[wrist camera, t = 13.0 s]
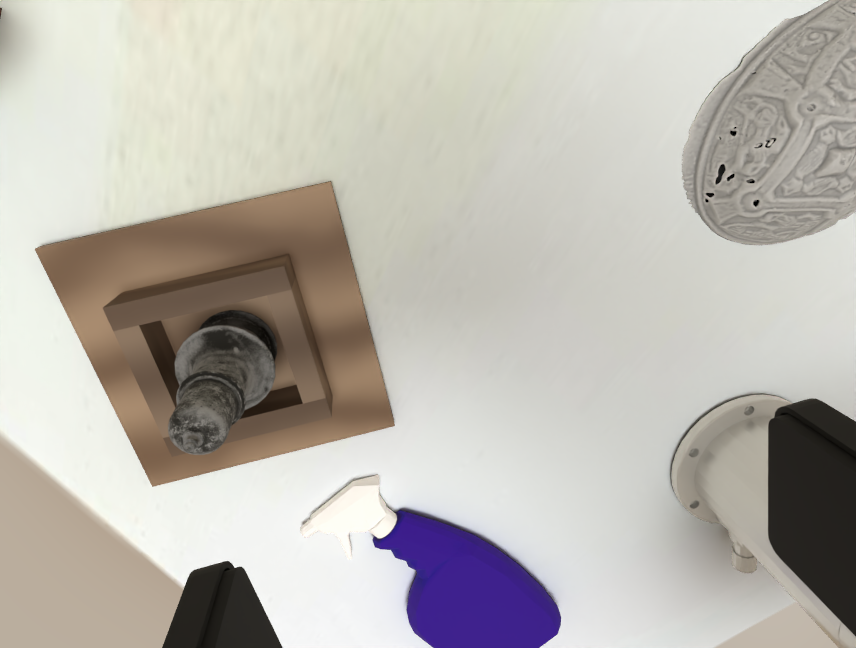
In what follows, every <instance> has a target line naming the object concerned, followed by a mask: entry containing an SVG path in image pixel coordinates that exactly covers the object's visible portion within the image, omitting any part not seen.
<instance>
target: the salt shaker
mask: <svg viewBox="0 0 856 648" xmlns="http://www.w3.org/2000/svg"><path fill="white" fill-rule="evenodd" d="M276 355H277V342H276V339H275V335H274V333H273V332H272V330H271V329H270V327H269V326H268V325H267V324H266V323H265V322H264V321H263V320H262V319H260V318H259V317H257V316H255V315H253V314H251V313H248V312H244V311H238V310H228V311H223V312H219V313H217V314H215V315H213V316H211V317H209V318H208V319H207V320H206V321H205V322H204V323H203V324H202V325H201V327H200V328H199V330H198V331H197V332H195V333H193V334H192V335H191V336H189V337H188V338H187V339H186V340H185V341H184V342H183V344H182V345H181V347H180V348H179V350H178V352H177V355H176V359H175V375H176V378H177V380H178V383H179V385H180V387H179V388H178V391H177V395H176V401H177V407H176V408H175V410H174V412H173V414H172V415H171V417H170V419H169V424H168V434H169V437H170V439H171V441H172V442H173V443H174V445H175V446H176V447H178V448H179V449H180V450H182V451H184V452H186V453H188V454H193V455H205V454H209V453H212V452H214V451H216V450H217V449H218V448H219V447H221V445H222V444H223V443H224V441H225V440H226V438H227V436H228V433H229V430H230V428H231V426H232V425H234V424H235V423H236V422H237V421H238V420H239V419H240V418H241V416H242V415H243V413H244V410H247V409H249V408H251V407H253V406H255V405H257V404H258V403H259V402H261V401H262V400H263V399H264V398H265V397H266V396H267V394H268V393H269V391H270V390H271V388H272V386H273V383H274V380H275V358H276Z"/></svg>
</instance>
